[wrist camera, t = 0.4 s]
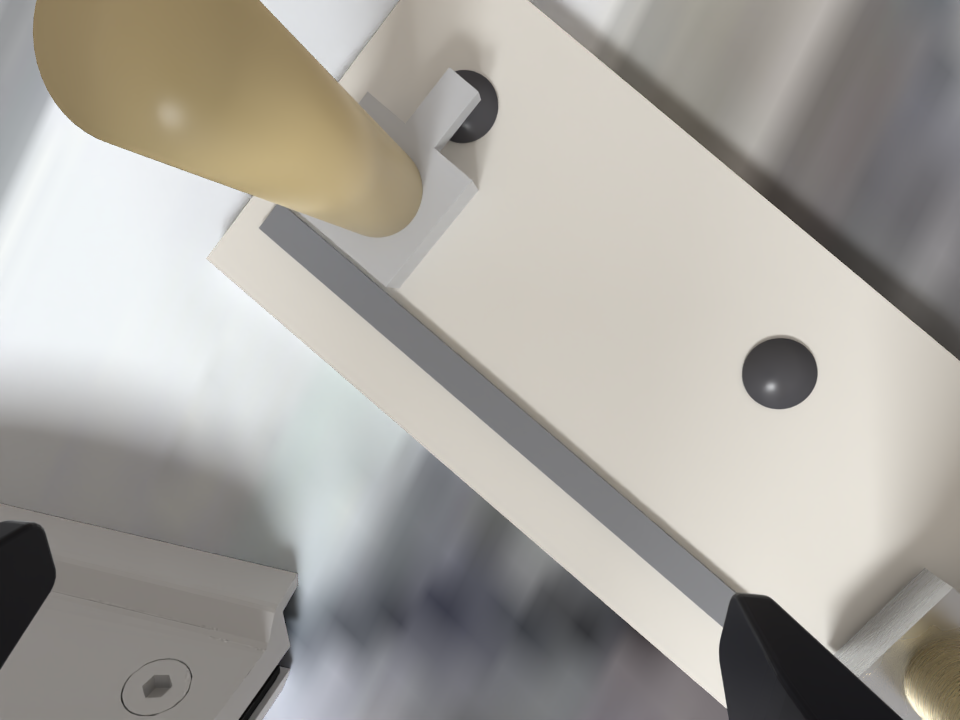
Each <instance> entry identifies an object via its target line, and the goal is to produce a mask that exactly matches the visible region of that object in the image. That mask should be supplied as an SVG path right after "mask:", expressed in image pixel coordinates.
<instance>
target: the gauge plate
mask: <svg viewBox="0 0 960 720" xmlns="http://www.w3.org/2000/svg"><path fill="white" fill-rule="evenodd" d="M33 39H34V50H35V55H36V60H37V64H38V67H39V71H40V74H41V77H42V79H43V81H44V83H45V86H46V88H47V90H48V92H49V93H50V95H51V97H52V98H53V100H54V102H55V103H56V104H57V106H58V107H59V108H60V109H61V111H62V112H63V113H64V114H65V115H66V116H67V117H68V118H69V119H70V120H71V121H72V122H73V123H74V124H75V125H77V126H78V127H79V128H81V129H82V130H83V131H85V132H86V133H88V134H90V135H92V136H93V137H95V138H97V139H99V140H102V141H104V142H107V143H109V144H112V145H115V146H118V147H121V148H123V149H126V150H129V151H132V152H134V153H137V154H140V155H143V156H145V157H148V158H151V159H154V160H156V161H159V162H162V163H165V164H167V165H170V166H173V167H176V168H179V169H181V170H184V171H187V172H190V173H192V174H195V175H198V176H201V177H203V178H206V179H209V180H212V181H214V182H217V183H220V184H223V185H225V186H228V187H231V188H234V189H237V190H239V191H242V192H245V193H248V194H250V195H253V197H252V198H251V199H250V201H249V202H248V203H247V205H246V206H245V207H244V209H243V210H242V211H241V213H240V214H239V215H238V217H237V218H236V219H235V221H234V222H233V223H232V225H231V226H230V227H229V229H228V230H227V231H226V233H225V234H224V235H223V237H222V238H221V240H220V241H219V242H218V244H217V245H216V246H215V248H214V249H213V250H212V252H211V253H210V254H209V256H208V257H207V258H206V259H207V260H208V261H209V262H211V263H212V264H213V265H214V266H215V267H216V268H218V269H219V270H220V271H221V272H222V273H223V274H224V275H226V276H227V277H228V278H229V279H230V280H231V281H233V282H234V283H235V284H236V285H237V286H238V287H240V288H241V289H242V290H243V291H244V292H245V293H246V294H248V295H249V296H250V297H251V298H252V299H253V300H255V301H256V302H257V303H258V304H259V305H260V306H262V307H263V308H264V309H265V310H266V311H267V312H268V313H270V314H271V315H272V316H273V317H274V318H275V319H277V320H278V321H279V322H280V323H281V324H282V325H284V326H285V327H286V328H287V329H288V330H289V331H290V332H292V333H293V334H294V335H295V336H296V337H297V338H299V339H300V340H301V341H302V342H303V343H304V344H306V345H307V346H308V347H309V348H310V349H311V350H312V351H314V352H315V353H316V354H317V355H318V356H319V357H321V358H322V359H323V360H324V361H325V362H326V363H328V364H329V365H330V366H331V367H332V368H333V369H334V370H336V371H337V372H338V373H339V374H340V375H341V376H343V377H344V378H345V379H346V380H347V381H348V382H350V383H351V384H352V385H353V386H354V387H355V388H356V389H358V390H359V391H360V392H361V393H362V394H363V395H365V396H366V397H367V398H368V399H369V400H370V401H371V402H373V403H374V404H375V405H376V406H377V407H378V408H380V409H381V410H382V411H383V412H384V413H385V414H387V415H388V416H389V417H390V418H391V419H392V420H393V421H395V422H396V423H397V424H398V425H399V426H400V427H402V428H403V429H404V430H405V431H406V432H407V433H409V434H410V435H411V436H412V437H413V438H414V439H415V440H417V441H418V442H419V443H420V444H421V445H422V446H424V447H425V448H426V449H427V450H428V451H429V452H431V453H432V454H433V455H434V456H435V457H436V458H437V459H439V460H440V461H441V462H442V463H443V464H444V465H446V466H447V467H448V468H449V469H450V470H451V471H453V472H454V473H455V474H456V475H457V476H458V477H459V478H461V479H462V480H463V481H464V482H465V483H466V484H468V485H469V486H470V487H471V488H472V489H473V490H475V491H476V492H477V493H478V494H479V495H480V496H481V497H483V498H484V499H485V500H486V501H487V502H488V503H490V504H491V505H492V506H493V507H494V508H495V509H497V510H498V511H499V512H500V513H501V514H502V515H503V516H505V517H506V518H507V519H508V520H509V521H510V522H512V523H513V524H514V525H515V526H516V527H517V528H519V529H520V530H521V531H522V532H523V533H524V534H525V535H527V536H528V537H529V538H530V539H531V540H532V541H534V542H535V543H536V544H537V545H538V546H539V547H540V548H542V549H543V550H544V551H545V552H546V553H547V554H549V555H550V556H551V557H552V558H553V559H554V560H556V561H557V562H558V563H559V564H560V565H561V566H562V567H564V568H565V569H566V570H567V571H568V572H569V573H571V574H572V575H573V576H574V577H575V578H576V579H578V580H579V581H580V582H581V583H582V584H583V585H584V586H586V587H587V588H588V589H589V590H590V591H591V592H593V593H594V594H595V595H596V596H597V597H598V598H600V599H601V600H602V601H603V602H604V603H605V604H606V605H608V606H609V607H610V608H611V609H612V610H613V611H615V612H616V613H617V614H618V615H619V616H620V617H622V618H623V619H624V620H625V621H626V622H627V623H628V624H630V625H631V626H632V627H633V628H634V629H635V630H637V631H638V632H639V633H640V634H641V635H642V636H644V637H645V638H646V639H647V640H648V641H649V642H650V643H652V644H653V645H654V646H655V647H656V648H657V649H659V650H660V651H661V652H662V653H663V654H664V655H666V656H667V657H668V658H669V659H670V660H671V661H672V662H674V663H675V664H676V665H677V666H678V667H679V668H681V669H682V670H683V671H684V672H685V673H686V674H687V675H689V676H690V677H691V678H692V679H693V680H694V681H696V682H697V683H698V684H699V685H700V686H701V687H703V688H704V689H705V690H706V691H707V692H708V693H709V694H711V695H712V696H713V697H714V698H715V699H716V700H718V701H719V702H720V703H721V704H722V705H723V706H725V707H726V708H727V705H726V699H725V693H724V687H723V681H722V675H721V669H720V662H719V643H720V638H721V634H722V630H723V626H724V621H725V617H726V613H727V609H728V605H729V601H730V599H731V597H732V596H733V595H734V594H735V593H739V592H740V593H750V594H760V595H766V596H769V597H770V598H772V599H773V600H774V601H775V602H777V603H778V604H779V605H780V606H781V607H782V608H783V609H784V610H785V611H786V612H787V613H788V614H790V615H791V616H792V617H793V618H794V619H795V620H796V621H797V622H798V623H799V624H800V625H801V626H803V627H804V628H805V629H806V630H807V631H808V632H809V633H810V634H811V635H812V636H813V637H815V638H816V639H817V640H818V641H819V642H820V643H821V644H822V645H823V646H824V647H825V648H826V649H828V650H829V651H830V652H831V653H832V654H833V655H834V654H835V653H836V652H837V651H838V650H839V649H840V648H841V647H842V646H843V645H844V644H846V643H847V642H848V641H849V640H850V639H851V638H852V637H853V636H854V635H855V634H856V633H857V632H858V631H859V630H860V629H861V628H862V627H863V626H864V625H865V624H866V623H867V622H869V621H870V620H871V619H872V618H873V617H874V616H875V615H876V614H877V613H878V612H879V611H880V610H881V609H882V608H883V607H884V606H885V605H886V604H887V603H888V602H889V601H890V600H891V599H893V598H894V597H895V596H896V595H897V594H898V593H899V592H900V591H901V590H902V589H903V588H904V587H905V586H906V585H907V584H908V583H909V582H910V581H911V580H912V579H913V578H914V577H915V576H917V575H918V574H919V573H920V572H921V571H922V570H923V569H924V568H926V569H927V570H928V571H930V572H931V573H933V574H934V575H935V576H937V577H938V578H940V579H941V580H943V581H944V582H945V583H947V584H948V585H950V586H951V587H952V588H954V589H955V590H956V591H957V592H958V593H960V361H959V360H958V359H957V358H956V357H954V356H953V355H952V354H951V353H950V352H948V351H947V350H946V349H945V348H944V347H942V346H941V345H940V344H939V343H938V342H936V341H935V340H934V339H933V338H932V337H930V336H929V335H928V334H927V333H926V332H925V331H923V330H922V329H921V328H920V327H919V326H917V325H916V324H915V323H914V322H913V321H911V320H910V319H909V318H908V317H907V316H905V315H904V314H903V313H902V312H901V311H899V310H898V309H897V308H896V307H895V306H893V305H892V304H891V303H890V302H889V301H887V300H886V299H885V298H884V297H883V296H881V295H880V294H879V293H878V292H877V291H875V290H874V289H873V288H872V287H871V286H869V285H868V284H867V283H866V282H865V281H863V280H862V279H861V278H860V277H859V276H858V275H856V274H855V273H854V272H853V271H852V270H850V269H849V268H848V267H847V266H846V265H844V264H843V263H842V262H841V261H840V260H838V259H837V258H836V257H835V256H834V255H832V254H831V253H830V252H829V251H828V250H826V249H825V248H824V247H823V246H822V245H820V244H819V243H818V242H817V241H816V240H814V239H813V238H812V237H811V236H810V235H808V234H807V233H806V232H805V231H804V230H802V229H801V228H800V227H799V226H798V225H796V224H795V223H794V222H793V221H792V220H791V219H789V218H788V217H787V216H786V215H785V214H783V213H782V212H781V211H780V210H779V209H777V208H776V207H775V206H774V205H773V204H771V203H770V202H769V201H768V200H767V199H765V198H764V197H763V196H762V195H761V194H759V193H758V192H757V191H756V190H755V189H753V188H752V187H751V186H750V185H749V184H747V183H746V182H745V181H744V180H743V179H741V178H740V177H739V176H738V175H737V174H735V173H734V172H733V171H732V170H731V169H730V168H728V167H727V166H726V165H725V164H724V163H722V162H721V161H720V160H719V159H718V158H716V157H715V156H714V155H713V154H712V153H710V152H709V151H708V150H707V149H706V148H704V147H703V146H702V145H701V144H700V143H698V142H697V141H696V140H695V139H694V138H692V137H691V136H690V135H689V134H688V133H686V132H685V131H684V130H683V129H682V128H680V127H679V126H678V125H677V124H676V123H674V122H673V121H672V120H671V119H670V118H668V117H667V116H666V115H665V114H664V113H663V112H661V111H660V110H659V109H658V108H657V107H655V106H654V105H653V104H652V103H651V102H649V101H648V100H647V99H646V98H645V97H643V96H642V95H641V94H640V93H639V92H637V91H636V90H635V89H634V88H633V87H631V86H630V85H629V84H628V83H627V82H625V81H624V80H623V79H622V78H621V77H619V76H618V75H617V74H616V73H615V72H613V71H612V70H611V69H610V68H609V67H607V66H606V65H605V64H604V63H603V62H601V61H600V60H599V59H598V58H597V57H596V56H594V55H593V54H592V53H591V52H590V51H588V50H587V49H586V48H585V47H584V46H582V45H581V44H580V43H579V42H578V41H576V40H575V39H574V38H573V37H572V36H570V35H569V34H568V33H567V32H566V31H564V30H563V29H562V28H561V27H560V26H558V25H557V24H556V23H555V22H554V21H552V20H551V19H550V18H549V17H548V16H546V15H545V14H544V13H543V12H542V11H540V10H539V9H538V8H537V7H536V6H535V5H533V4H532V3H531V2H530V1H529V0H399V2H398V3H397V4H396V6H395V7H394V8H393V10H392V11H391V12H390V14H389V15H388V16H387V18H386V19H385V20H384V22H383V23H382V24H381V26H380V27H379V28H378V30H377V31H376V32H375V34H374V35H373V36H372V38H371V39H370V40H369V42H368V43H367V44H366V46H365V47H364V48H363V50H362V51H361V52H360V54H359V55H358V56H357V58H356V59H355V61H354V62H353V63H352V65H351V66H350V67H349V69H348V70H347V71H346V73H345V74H344V75H343V77H342V78H341V79H340V81H339V82H337V81H336V80H335V79H334V78H333V77H332V76H331V75H330V73H329V72H328V71H327V70H326V69H325V68H324V67H323V66H322V65H321V64H320V63H319V62H318V61H317V60H316V59H315V58H314V57H313V56H312V55H311V54H310V53H309V52H308V51H307V50H306V48H305V47H304V46H303V45H302V44H301V43H300V42H299V41H298V40H297V39H296V38H295V37H294V36H293V35H292V34H291V33H290V32H289V31H288V30H287V29H286V28H285V27H284V26H283V25H282V24H281V22H280V21H279V20H278V19H277V18H276V17H275V16H274V15H273V14H272V13H271V12H270V11H269V10H268V9H267V8H266V7H265V6H264V5H263V4H262V3H261V2H260V1H259V0H37V1H36V6H35V13H34V21H33Z"/></svg>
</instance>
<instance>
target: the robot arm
mask: <svg viewBox="0 0 960 720" xmlns="http://www.w3.org/2000/svg"><path fill="white" fill-rule="evenodd" d="M55 580H56V567H55V564H54V560H53V557H52V553H51V550H50V546H49V543H48V539H47V535H46V532H45V530H44V528H43V527H42V526H41V525H40V524H38V523H36V522H29V521H19V520H6V521H2V522H0V669H1V668H2V666H3V665H4V663H5V662H6V660H7V659H8V657H9V656H10V654H11V652H12V651H13V649H14V648H15V646H16V645H17V643H18V642H19V640H20V638H21V637H22V635H23V634H24V632H25V631H26V629H27V628H28V626H29V625H30V623H31V621H32V620H33V618H34V617H35V615H36V614H37V612H38V611H39V609H40V608H41V606H42V604H43V603H44V601H45V600H46V598H47V597H48V595H49V594H50V592H51V590H52V588H53V586H54V583H55ZM719 662H720V669H721V675H722V681H723V687H724V693H725V699H726V705H727V711H728V717H729V720H903V719H902V718H901V717H900V716H899V715H898V714H897V713H896V712H895V711H894V710H893V709H892V708H890V707H889V706H888V705H887V704H886V703H885V702H884V701H883V700H882V699H881V698H880V697H879V696H877V695H876V694H875V693H874V692H873V691H872V690H871V689H870V688H869V687H868V686H867V685H866V684H864V683H863V682H862V681H861V680H860V679H859V678H858V677H857V676H856V675H855V674H854V673H852V672H851V671H850V670H849V669H848V668H847V667H846V666H845V665H844V664H843V663H842V662H841V661H839V660H838V659H837V658H836V657H835V656H834V655H833V654H832V653H831V652H830V651H829V650H828V649H826V648H825V647H824V646H823V645H822V644H821V643H820V642H819V641H818V640H817V639H816V638H815V637H813V636H812V635H811V634H810V633H809V632H808V631H807V630H806V629H805V628H804V627H803V626H801V625H800V624H799V623H798V622H797V621H796V620H795V619H794V618H793V617H792V616H791V615H790V614H788V613H787V612H786V611H785V610H784V609H783V608H782V607H781V606H780V605H779V604H778V603H777V602H775V601H774V600H773V599H772V598H770V597H769V596H766V595H760V594H750V593H740V592H739V593H735V594H734V595H733V596H732V597H731V599H730V601H729V605H728V609H727V613H726V617H725V621H724V626H723V630H722V634H721V638H720V643H719Z"/></svg>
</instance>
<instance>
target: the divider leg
mask: <svg viewBox="0 0 960 720" xmlns="http://www.w3.org/2000/svg"><path fill="white" fill-rule="evenodd" d="M834 656H835V657H836V658H837V659H838V660H839V661H841V662H842V663H843V664H844V665H845V666H846V667H847V668H848V669H849V670H850V671H851V672H852V673H854V674H855V675H856V676H857V677H858V678H859V679H860V680H861V681H862V682H863V683H864V684H866V685H867V686H868V687H869V688H870V689H871V690H872V691H873V692H874V693H875V694H876V695H877V696H879V697H880V698H881V699H882V700H883V701H884V702H885V703H886V704H887V705H888V706H889V707H890V708H892V709H893V710H894V711H895V712H896V713H897V714H898V715H899V716H900V717H901V718H902V719H903V720H960V593H958V592H957V591H956V590H955V589H954V588H952V587H951V586H950V585H948V584H947V583H945V582H944V581H943V580H941V579H940V578H938V577H937V576H935V575H934V574H933V573H931V572H930V571H928V570H927V569H926V568H924V569H923V570H922V571H921V572H920V573H919V574H918V575H917V576H915V577H914V578H913V579H912V580H911V581H910V582H909V583H908V584H907V585H906V586H905V587H904V588H903V589H902V590H901V591H900V592H899V593H898V594H897V595H896V596H895V597H894V598H893V599H891V600H890V601H889V602H888V603H887V604H886V605H885V606H884V607H883V608H882V609H881V610H880V611H879V612H878V613H877V614H876V615H875V616H874V617H873V618H872V619H871V620H870V621H869V622H867V623H866V624H865V625H864V626H863V627H862V628H861V629H860V630H859V631H858V632H857V633H856V634H855V635H854V636H853V637H852V638H851V639H850V640H849V641H848V642H847V643H846V644H844V645H843V646H842V647H841V648H840V649H839V650H838V651H837V652H836V653H835V654H834Z"/></svg>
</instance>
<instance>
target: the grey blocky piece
mask: <svg viewBox="0 0 960 720" xmlns="http://www.w3.org/2000/svg"><path fill="white" fill-rule="evenodd" d="M6 520H19V521H29V522H36V523H38V524H40V525H41V526H42V527H43V528H44V530H45V532H46V535H47V539H48V543H49V546H50V550H51V553H52V557H53V560H54V564H55V567H56V580H55V583H54V586H53V588H52V590H51V592H50V594H49V595H48V597H47V598H46V600H45V601H44V603H43V604H42V606H41V608H40V609H39V611H38V612H37V614H36V615H35V617H34V618H33V620H32V621H31V623H30V625H29V626H28V628H27V629H26V631H25V632H24V634H23V635H22V637H21V638H20V640H19V642H18V643H17V645H16V646H15V648H14V649H13V651H12V652H11V654H10V656H9V657H8V659H7V660H6V662H5V663H4V665H3V666H2V668H1V669H0V720H262V719H263V718H264V716H265V715H266V714H267V712H268V711H269V709H270V708H271V706H272V705H273V703H274V702H275V700H276V699H277V697H278V696H279V694H280V693H281V691H282V689H283V687H284V685H285V683H286V680H287V677H288V674H289V671H290V669H289V668H285V667H281V666H280V665H277V664H278V663H279V662H280V660H281V659H282V657H283V656H284V655H285V653H286V652H287V650H288V649H289V647H290V642H289V638H288V633H287V629H286V625H285V620H284V616H283V610H284V608H285V607H286V605H287V603H288V602H289V600H290V598H291V596H292V595H293V593H294V591H295V589H296V588H297V586H298V574H297V573H294V572H289V571H285V570H281V569H277V568H272V567H268V566H264V565H260V564H255V563H251V562H247V561H243V560H238V559H234V558H230V557H226V556H221V555H217V554H213V553H209V552H204V551H200V550H196V549H192V548H187V547H183V546H179V545H175V544H170V543H166V542H162V541H158V540H153V539H149V538H145V537H141V536H136V535H132V534H128V533H124V532H119V531H115V530H111V529H107V528H102V527H98V526H94V525H90V524H86V523H81V522H77V521H73V520H69V519H64V518H60V517H56V516H52V515H47V514H43V513H39V512H35V511H30V510H26V509H22V508H18V507H13V506H9V505H5V504H1V503H0V522H2V521H6Z"/></svg>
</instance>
